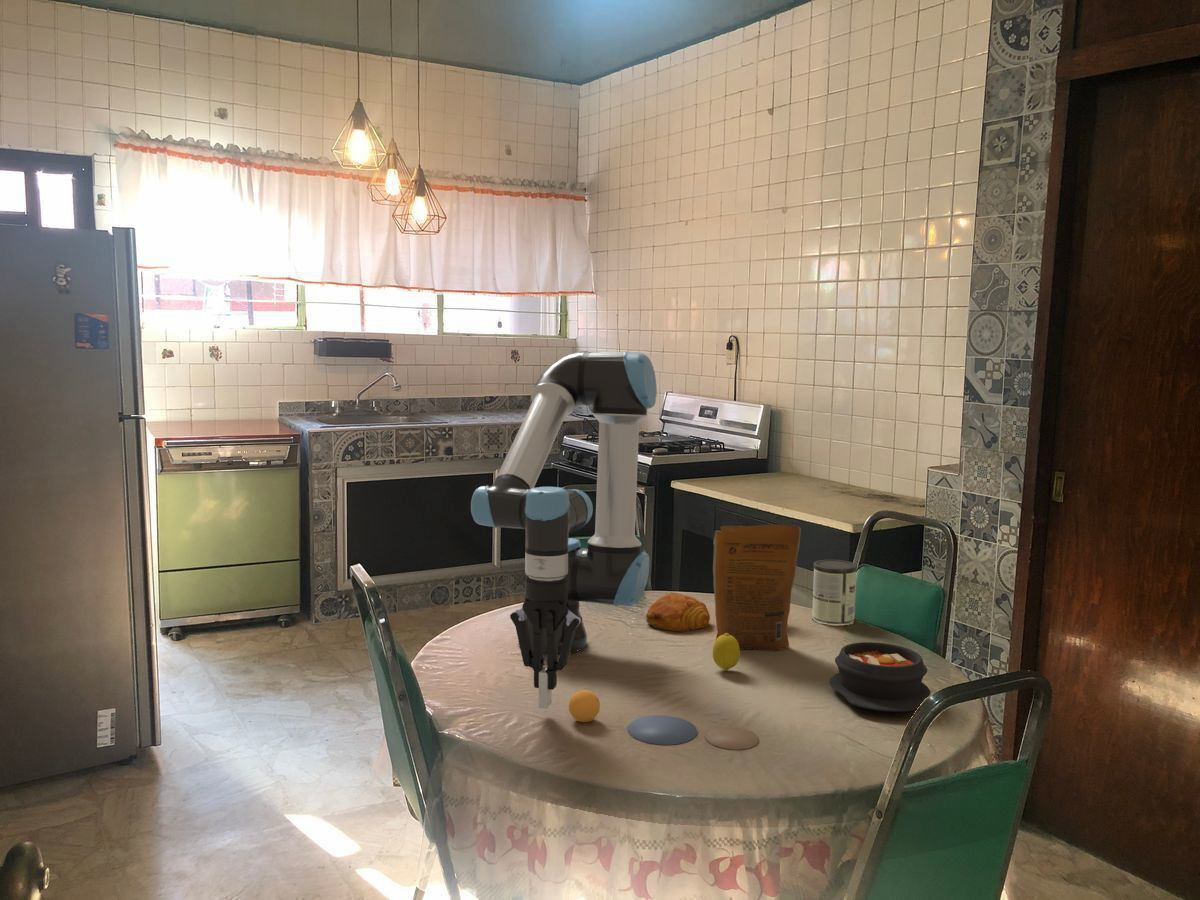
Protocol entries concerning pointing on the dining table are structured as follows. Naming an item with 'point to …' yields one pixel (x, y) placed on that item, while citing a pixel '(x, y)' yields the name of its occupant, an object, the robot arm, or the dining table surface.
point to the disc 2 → (732, 738)
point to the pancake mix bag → (755, 583)
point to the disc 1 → (662, 730)
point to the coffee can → (834, 591)
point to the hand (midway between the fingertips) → (545, 705)
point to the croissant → (678, 613)
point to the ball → (584, 705)
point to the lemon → (726, 651)
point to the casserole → (880, 677)
